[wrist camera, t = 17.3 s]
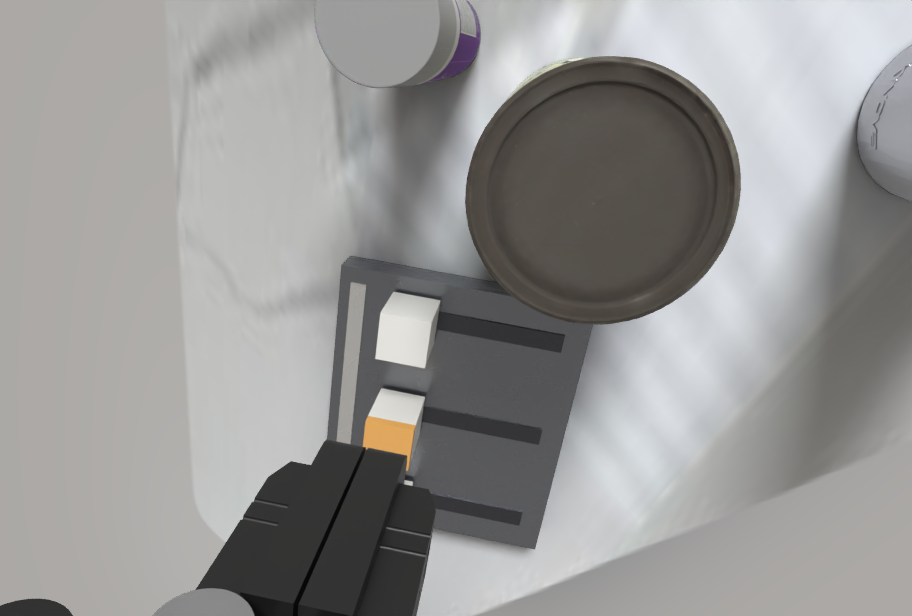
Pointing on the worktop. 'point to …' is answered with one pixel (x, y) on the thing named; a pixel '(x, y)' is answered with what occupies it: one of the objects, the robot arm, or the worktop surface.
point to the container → (397, 39)
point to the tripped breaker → (394, 423)
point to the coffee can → (602, 189)
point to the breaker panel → (464, 394)
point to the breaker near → (407, 329)
